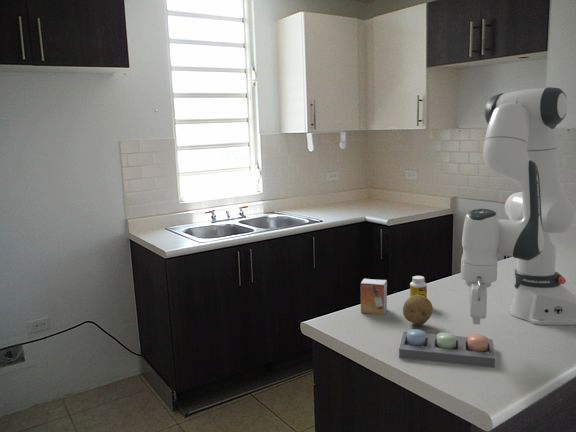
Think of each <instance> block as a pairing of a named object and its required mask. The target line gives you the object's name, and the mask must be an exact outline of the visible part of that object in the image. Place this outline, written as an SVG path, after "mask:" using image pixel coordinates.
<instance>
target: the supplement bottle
mask: <svg viewBox="0 0 576 432" xmlns="http://www.w3.org/2000/svg"><path fill="white" fill-rule="evenodd" d="M425 281H426V279H425V277H424V276H422V275H415V276H412V281H411V282H410V283H409V298H410V297H411V296H414V295H422V296H425V297H426V298H427V295H428V293H427V292H428V290H427V289H428V284H427V282H425ZM427 299H428V298H427Z"/></svg>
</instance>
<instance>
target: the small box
mask: <svg viewBox="0 0 576 432" xmlns="http://www.w3.org/2000/svg"><path fill="white" fill-rule="evenodd" d="M387 292H388V280H387V279H371V278H363V279H362V280H361V282H360V313H364V314H365V313H366V314H375V315H380V316H381V315H382V316H384V315H385V314H386V311H387V309H388V308H387V307H388V305H387V304H388V298H387V297H388V293H387Z"/></svg>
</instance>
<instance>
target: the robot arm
mask: <svg viewBox="0 0 576 432" xmlns="http://www.w3.org/2000/svg"><path fill="white" fill-rule="evenodd" d="M567 112H568V99H567V95H566V93H565V92H564V91H563V89H561V88H558V87H553V86H547V87H546V88H543V87H541V88H538V87H537V88H527V89H526V88H525V89H524V88H523V89H522V90H516V91H512V92H511V91H510V92H507V93H504V92H503V93H498V94H495V95H493V96H491V97H490V98H489V99H488V101H487V102H486V104H485V107H484V119H485V122H486V123H487V128H486V132H485V137H484V142H483V149H482V150H483V151H482V159H483V162H484V163H485V165H486V167H487V168H488V169H490V171H492V172H493V173H495V174H496V175H498V176H500V177H502V178H506V179H508V180H510V181H511V182H514V183H516V184H517V185H518V186H519V187H520V188H521V191H519V192H514V193H512V194H510V195H509V196H508V198H507V199H506V200H505V204H504V212H505V214H506V216H507V217H508V219H500V218H498V213H497V212H496V211H494V210H493V209H489V208H478V209H476V208H475V209H472V210H469V211H468V212H466V215H465V216H464V223H463V229H462V235H461V245H462V255H461V261H460V278H461V279H462V280H463V281H464V283H465V285H466V286H468V291H469V314H470V315H469V316H470V318H472V324H473V325H481V320H482V319H486V318H487V305H488V304H487V302H488V301H487V300H488V291H487V290H488V289H487V288H490V287H491V286H492V283H495V282H496V281H497V280H498V263H499V262H498V257H497V256H505V257H511V258H512V257H513V259H516V268H515V269H514V275H513V285H514V292H513V296H512V297H513V298H512V302H511V304H510V308H509V313H510V314H511V315H512V316H514V317H516V318H518V319H521V320H525V321H528V322H530V323H532V324H534V325H540V326H542V325H549V326H550V325H551V326H552V325H554V326H555V325H556V326H557V325H558V326H561V325H563V326H565V325H566V326H567V325H568V326H569V325H570V326H576V294H575V293H574V292H573V291H571V290H570V289H569V288H567V287H566V286H564V284H566V283H567V280H566V277H564V276H562V274H560V273H559V272H557V271H556V259H557V258H556V257H557V248H556V246H555V244H554V243H553V241H552V240H551V237H550V235H549V233H550V234H551V233H552V234H558V233H560V234H561V233H565V232H567V231H569V230H570V229H571V228H572V227H573V225H574V224H575V221H576V209H575V206H574V205H573V204H572V203H571V202H570V200H569V199H568V198H567V196H566V193H565V191H564V188H563V185H562V182H561V178H560V174H559V173H560V172H559V153H558V151H559V149H558V144H559V143H558V135H557V133H558V132H557V128H556V127H557V125H559V124H561V123H562V122H563V120H564V119H565V117H566V115H567Z"/></svg>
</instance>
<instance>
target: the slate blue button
mask: <svg viewBox="0 0 576 432" xmlns="http://www.w3.org/2000/svg"><path fill="white" fill-rule="evenodd" d="M406 332H407V344H406V345H412V346H422V347H425V346H424V345H425V340H426V334H427V333H426V331H425V330H423V329H417V328H416V329H413V328H412V329H408V330H407V331H406Z"/></svg>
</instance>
